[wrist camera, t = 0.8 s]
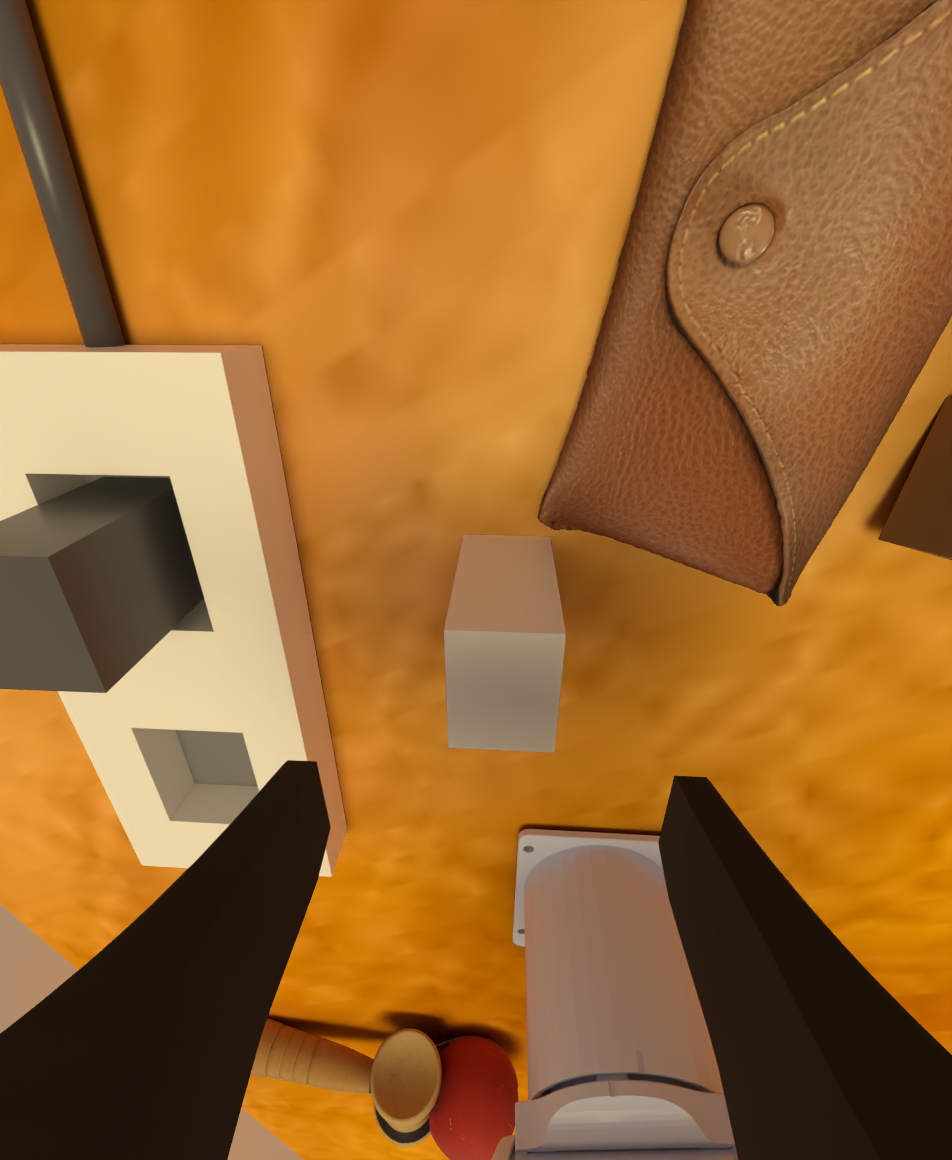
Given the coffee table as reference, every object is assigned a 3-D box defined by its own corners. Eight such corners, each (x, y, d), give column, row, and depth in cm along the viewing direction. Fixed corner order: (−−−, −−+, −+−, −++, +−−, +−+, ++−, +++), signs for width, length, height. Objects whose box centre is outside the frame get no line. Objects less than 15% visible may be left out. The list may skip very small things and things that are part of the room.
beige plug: (543, 632, 20) (554, 752, 15) (464, 630, 20) (447, 747, 15) (550, 536, 18) (566, 634, 13) (463, 534, 18) (444, 630, 13)
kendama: (284, 1027, 40) (517, 1093, 37) (233, 1133, 34) (505, 1221, 31) (280, 954, 38) (528, 1018, 35) (223, 1054, 32) (517, 1142, 29)
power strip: (347, 827, 26) (300, 976, 20) (172, 818, 26) (78, 960, 21) (168, -178, 11) (-210, -705, 5) (-231, -159, 11) (-980, -621, 6)
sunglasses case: (735, -358, 9) (1367, -1012, 4) (921, -143, 13) (1406, -384, 8) (527, 537, 18) (666, 653, 13) (671, 528, 21) (825, 617, 16)
